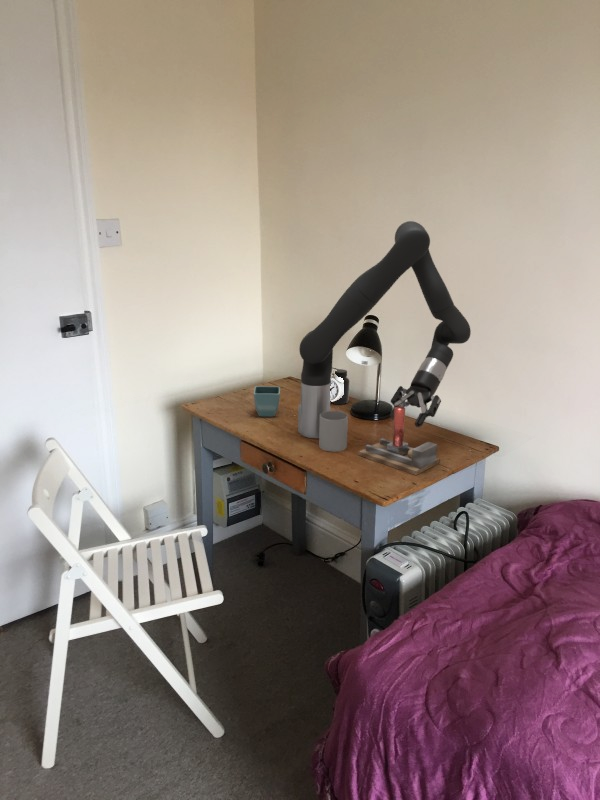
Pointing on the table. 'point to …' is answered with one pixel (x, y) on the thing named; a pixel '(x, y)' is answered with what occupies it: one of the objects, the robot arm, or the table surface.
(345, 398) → the supplement bottle
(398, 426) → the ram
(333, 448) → the cup
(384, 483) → the table surface
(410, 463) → the machine vise
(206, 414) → the table surface
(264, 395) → the flower pot
